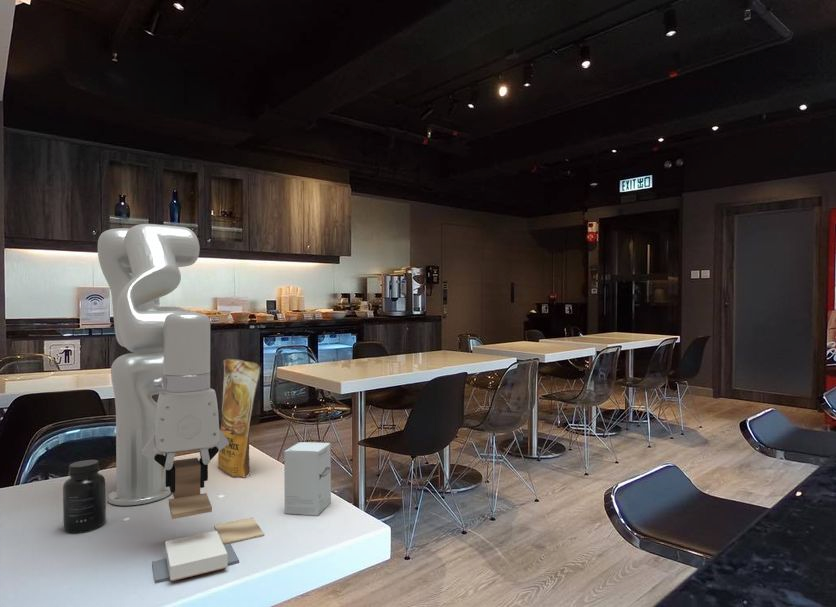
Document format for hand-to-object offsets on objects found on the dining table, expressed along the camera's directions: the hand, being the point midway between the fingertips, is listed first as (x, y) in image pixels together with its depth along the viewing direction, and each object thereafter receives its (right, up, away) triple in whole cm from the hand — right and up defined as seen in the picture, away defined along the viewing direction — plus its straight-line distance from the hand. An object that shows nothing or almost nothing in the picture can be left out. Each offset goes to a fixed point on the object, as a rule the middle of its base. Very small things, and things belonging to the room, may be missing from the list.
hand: (186, 486), depth 92 cm
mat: (+5, -9, -8) cm, 13 cm away
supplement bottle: (-22, -10, +7) cm, 26 cm away
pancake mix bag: (-6, -11, +42) cm, 44 cm away
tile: (+3, -8, -4) cm, 9 cm away
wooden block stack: (+1, -2, -2) cm, 3 cm away
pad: (+8, -9, +4) cm, 13 cm away
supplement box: (+18, -10, +15) cm, 25 cm away
